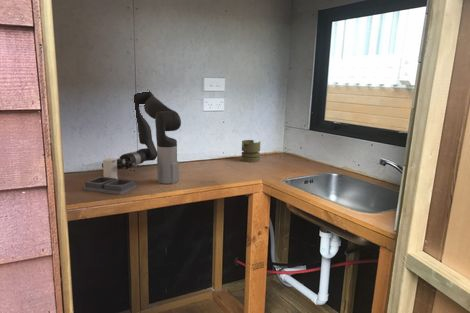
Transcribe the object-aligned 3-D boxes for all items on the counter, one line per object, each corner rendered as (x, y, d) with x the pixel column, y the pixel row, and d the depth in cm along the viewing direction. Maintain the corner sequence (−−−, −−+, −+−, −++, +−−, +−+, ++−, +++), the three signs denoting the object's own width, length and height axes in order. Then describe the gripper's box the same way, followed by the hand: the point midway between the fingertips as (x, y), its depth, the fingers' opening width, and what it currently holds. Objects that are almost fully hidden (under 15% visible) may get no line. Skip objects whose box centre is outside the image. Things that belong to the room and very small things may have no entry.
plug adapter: (117, 179, 177) (116, 158, 175) (111, 181, 172) (110, 160, 170) (110, 178, 178) (109, 158, 176) (103, 180, 174) (102, 160, 172)
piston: (251, 139, 232) (264, 141, 224) (250, 158, 234) (263, 161, 226) (238, 141, 224) (251, 143, 216) (237, 160, 227) (250, 163, 219)
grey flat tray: (136, 187, 164) (136, 180, 163) (120, 194, 153) (120, 187, 152) (101, 182, 170) (100, 176, 169) (83, 189, 159) (82, 182, 158)
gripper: (118, 151, 191) (97, 157, 175) (142, 154, 186) (122, 160, 171) (118, 165, 192) (98, 172, 177) (142, 168, 188) (123, 175, 173)
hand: (110, 166), depth 174 cm, fingers open, 8 cm apart
